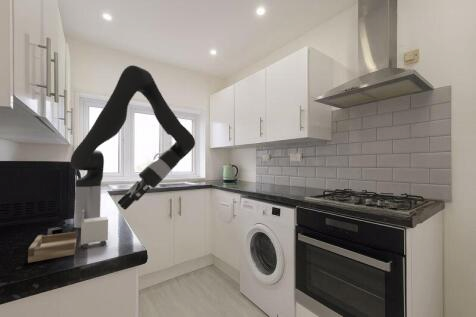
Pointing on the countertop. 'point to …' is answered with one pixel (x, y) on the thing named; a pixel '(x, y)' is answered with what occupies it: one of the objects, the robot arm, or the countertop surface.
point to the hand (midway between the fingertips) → (120, 206)
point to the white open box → (94, 230)
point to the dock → (52, 246)
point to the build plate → (55, 231)
